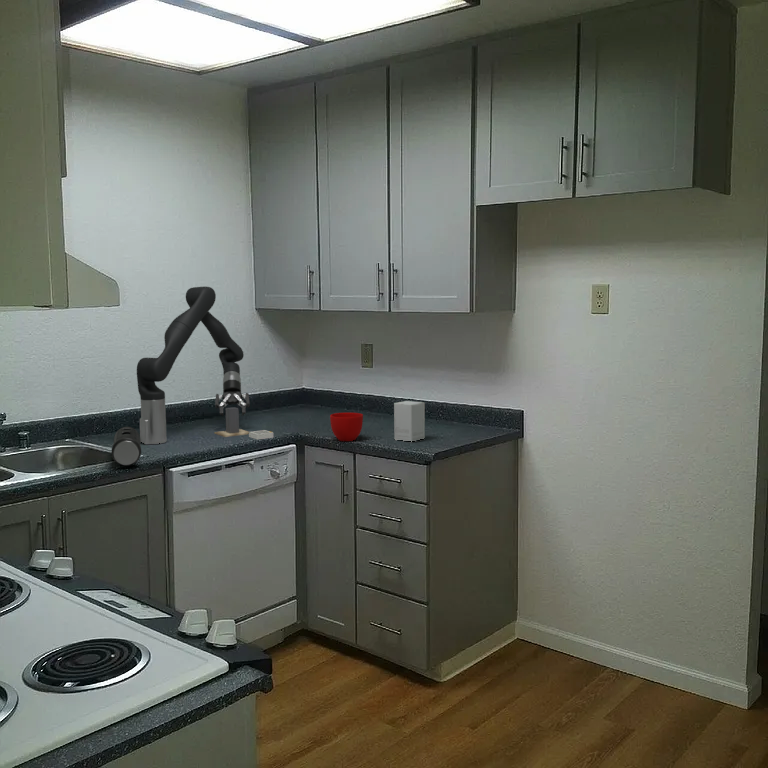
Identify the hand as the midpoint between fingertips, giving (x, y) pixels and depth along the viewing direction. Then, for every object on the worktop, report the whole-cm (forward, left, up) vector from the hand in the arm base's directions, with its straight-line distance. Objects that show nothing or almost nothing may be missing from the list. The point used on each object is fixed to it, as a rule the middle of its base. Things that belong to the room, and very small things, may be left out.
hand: (232, 414), depth 342 cm
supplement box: (+48, -59, -8) cm, 76 cm away
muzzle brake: (-55, -31, -8) cm, 63 cm away
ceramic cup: (+30, -43, -8) cm, 53 cm away
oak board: (-3, -6, -7) cm, 10 cm away
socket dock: (+3, -20, -7) cm, 22 cm away
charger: (-3, -6, -6) cm, 9 cm away
